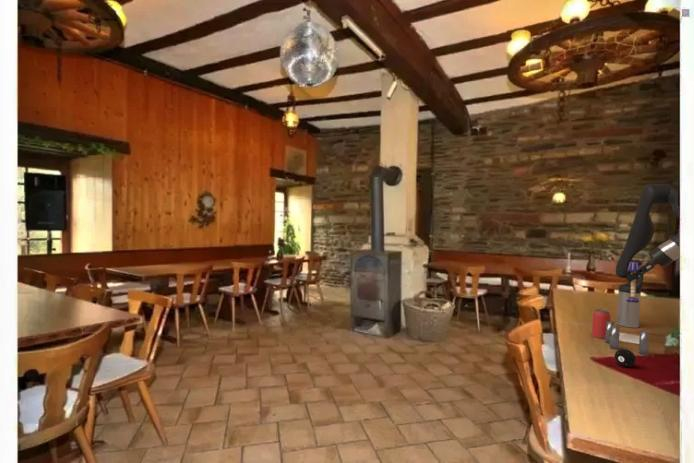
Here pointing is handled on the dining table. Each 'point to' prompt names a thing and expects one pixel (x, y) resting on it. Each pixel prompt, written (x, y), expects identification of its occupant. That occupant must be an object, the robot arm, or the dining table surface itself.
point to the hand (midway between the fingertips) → (628, 279)
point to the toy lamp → (631, 268)
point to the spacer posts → (613, 338)
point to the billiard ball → (625, 357)
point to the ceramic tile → (629, 338)
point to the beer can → (600, 323)
